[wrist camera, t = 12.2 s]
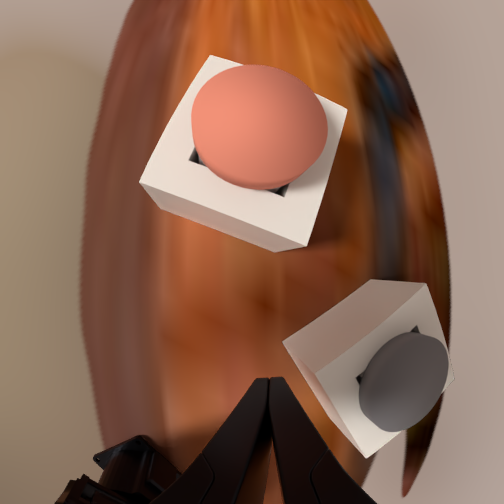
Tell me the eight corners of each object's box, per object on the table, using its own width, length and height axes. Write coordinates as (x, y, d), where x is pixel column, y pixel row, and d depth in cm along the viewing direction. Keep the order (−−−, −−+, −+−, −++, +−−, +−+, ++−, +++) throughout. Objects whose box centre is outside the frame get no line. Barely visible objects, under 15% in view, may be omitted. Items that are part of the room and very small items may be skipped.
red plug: (267, 227, 20) (306, 203, 12) (181, 194, 19) (167, 150, 11) (295, 150, 20) (339, 96, 13) (216, 119, 20) (224, 50, 12)
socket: (329, 417, 21) (366, 458, 14) (281, 341, 21) (314, 373, 14) (404, 358, 23) (454, 379, 16) (370, 279, 22) (426, 283, 15)
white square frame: (274, 252, 21) (306, 246, 14) (160, 208, 20) (139, 182, 13) (309, 149, 22) (347, 109, 15) (207, 109, 21) (210, 54, 14)
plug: (338, 402, 21) (387, 448, 13) (305, 347, 21) (355, 386, 13) (393, 358, 22) (454, 385, 14) (368, 301, 22) (435, 314, 14)
